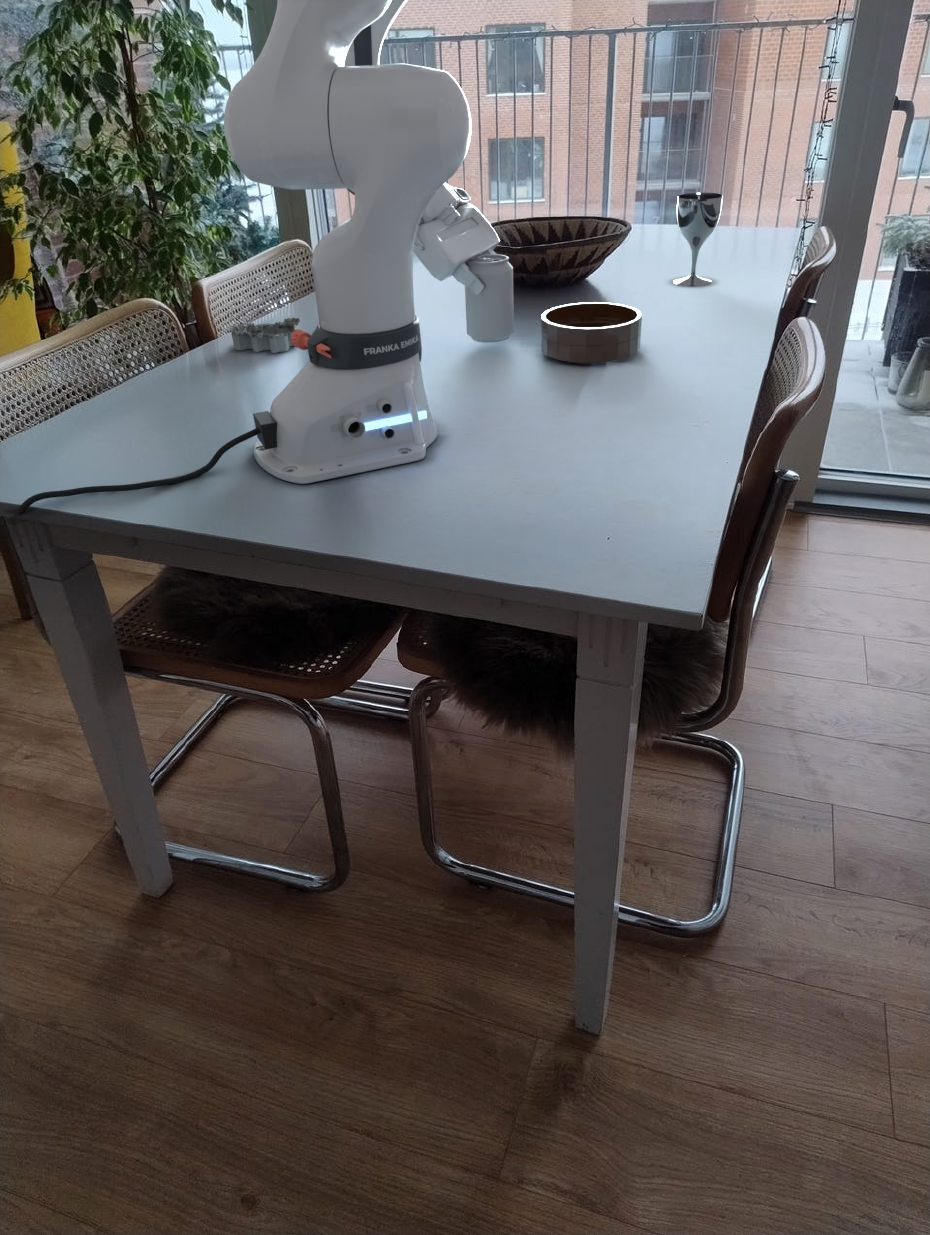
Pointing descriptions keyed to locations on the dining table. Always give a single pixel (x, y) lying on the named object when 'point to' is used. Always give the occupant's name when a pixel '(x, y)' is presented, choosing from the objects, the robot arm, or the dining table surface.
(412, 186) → the robot arm
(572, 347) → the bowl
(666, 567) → the dining table surface
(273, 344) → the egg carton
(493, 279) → the can
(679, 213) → the silver goblet
